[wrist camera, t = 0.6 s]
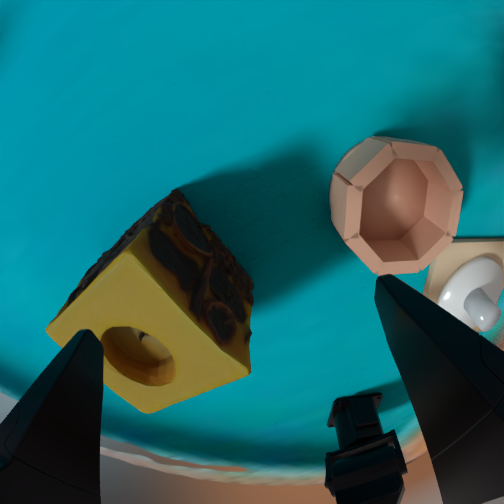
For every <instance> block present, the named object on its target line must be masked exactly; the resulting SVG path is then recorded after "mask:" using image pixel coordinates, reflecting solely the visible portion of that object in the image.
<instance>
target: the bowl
mask: <svg viewBox="0 0 504 504" xmlns="http://www.w3.org/2000/svg"><path fill="white" fill-rule="evenodd" d="M462 188H463V186H462V184H461V183H460V181H459V179H458V177H457V176H456V174H455V172H454V170H453V169H452V167H451V165H450V163H449V162H448V160H447V159H446V157H445V155H444V154H443V152H442V150H441V149H439V148H437V147H436V146H433V145H429V144H425V143H422V142H418V141H414V140H408V139H399V138H393V137H387V136H379V137H378V136H371V138H369V137H367V138H366V139H365V140H363V141H361V142H359V143H357V144H356V145H354V146H353V147H352V148H350V149H349V150H348V151H347V152H346V153H345V154H344V155H343V156H342V158H341V159H340V161H339V162H338V164H337V165H336V167H335V169H334V172H333V174H332V177H331V181H330V185H329V205H330V210H331V220H332V222H333V223H332V224H333V225H334V227H335V228H336V230H337V231H338V233H339V234H340V236H341V237H342V239H343V240H344V242H345V243H346V244H347V245H348V246H349V247H350V248H351V250H352V251H353V252H354V253H355V254H356V255H357V256H358V257H359V258H360V259H361V260H362V261H363V262H364V263H365V264H366V265H367V267H368V268H369V269H370V270H371V271H372V272H373V273H374V274H375V273H377V275H385V274H403V273H417V272H419V268H420V269H421V270H423V269H424V268H425V267H426V266H428V265H429V264H430V263H431V262H432V261H433V260H434V259H435V258H436V257H437V256H438V255H439V254H440V253H441V252H442V251H443V250H444V249H445V248H446V247H447V246H448V245H449V244H450V243H451V242H452V241H453V238H452V236H456V231H457V226H458V221H459V216H460V210H461V204H462V198H463V191H462V190H461V189H462Z"/></svg>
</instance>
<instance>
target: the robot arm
mask: <svg viewBox="0 0 504 504" xmlns="http://www.w3.org/2000/svg"><path fill="white" fill-rule="evenodd" d="M374 299H375V304H376V307H377V310H378V313H379V316H380V320H381V323H382V326H383V329H384V332H385V336H386V339H387V342H388V345H389V348H390V351H391V353H392V355H393V358H394V360H395V363H396V365H397V367H398V370H399V372H400V375H401V377H402V380H403V382H404V385H405V387H406V390H407V392H408V395H409V398H410V400H411V403H412V406H413V408H414V411H415V414H416V417H417V419H418V422H419V425H420V428H421V431H422V434H423V437H424V440H425V443H426V446H427V449H428V452H429V455H430V458H431V460H432V464H433V468H434V472H435V475H436V479H437V482H438V485H439V489H440V493H441V497H442V501H443V504H504V351H503V350H501V349H500V348H498V347H497V346H496V345H494V344H493V343H491V342H490V341H488V340H487V339H486V338H484V337H483V336H482V335H480V336H479V333H477V332H476V331H475V330H473V329H472V328H470V327H469V326H468V325H466V324H465V323H463V322H462V321H461V320H459V319H458V318H456V317H455V316H453V315H452V314H451V313H449V312H448V311H446V310H445V309H443V308H442V307H440V306H439V305H437V304H436V303H435V302H433V301H432V300H430V299H429V298H427V297H426V296H424V295H423V294H421V293H420V292H418V291H417V290H415V289H414V288H412V287H411V286H409V285H407V284H406V283H404V282H403V281H401V280H400V279H398V278H397V277H395V276H394V275H392V274H385V275H381V276H378V277H377V280H376V287H375V296H374ZM103 372H104V347H103V345H102V343H101V342H100V340H99V339H98V338H97V337H96V335H95V334H94V333H93V332H92V330H90V329H82V330H79V331H78V332H77V333H76V334H75V335H74V336H73V337H72V338H71V339H70V340H69V342H68V343H67V344H66V345H65V346H64V347H63V348H62V350H61V351H60V352H59V353H58V354H57V355H56V356H55V358H54V359H53V360H52V361H51V362H50V363H49V365H48V366H47V367H46V368H45V369H44V371H43V372H42V373H41V374H40V375H39V377H38V378H37V379H36V380H35V381H34V383H33V384H32V385H31V386H30V388H29V389H28V390H27V391H26V393H25V394H24V395H23V396H22V398H21V399H20V400H19V402H18V403H17V404H16V405H15V407H14V408H13V409H12V410H11V412H10V413H9V414H8V415H7V417H6V418H5V419H4V420H3V422H2V423H1V424H0V504H101V497H100V433H101V414H102V401H103ZM382 397H383V396H382V393H377V394H371V395H365V396H359V397H352V398H344V399H337V400H335V401H334V402H333V405H332V409H331V412H330V416H329V419H328V423H327V426H328V427H335V428H336V433H337V438H338V443H339V448H340V450H337V451H334V452H328V453H326V458H325V463H326V477H325V487H326V488H327V489H329V490H330V492H331V494H332V496H333V497H336V501H337V504H400V502H401V500H402V497H403V494H404V491H405V487H404V482H403V478H402V475H404V474H406V473H408V472H407V468H406V464H405V460H404V457H403V454H402V450H401V447H400V444H399V441H398V439H397V436H396V433H395V430H394V429H393V430H391V431H390V432H388V433H385V434H384V432H383V429H382V426H381V422H380V419H379V416H378V413H377V408H378V406H379V404H380V402H381V400H382ZM394 447H395V448H394Z"/></svg>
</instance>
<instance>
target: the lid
mask: <svg viewBox="0 0 504 504" xmlns="http://www.w3.org/2000/svg"><path fill="white" fill-rule="evenodd" d="M502 285H503V273H502V270H501V268H500V266H499V265H498V264H497V263H496V262H495V261H493V260H492V259H491V258H489V257H487V256H477V257H474V258H471V259H469V260H468V261H466V262H464V263H463V264H462V265H460V266H459V267H458V268H457V269H456V270H455V271H454V272H453V273H452V274H451V275H450V277H449V278H448V279H447V281H446V282H445V284H444V285H443V287H442V289H441V291H440V293H439V296H438V298H437V302H436V304H437V305H439V306H440V307H442V308H443V309H445V310H446V311H448V312H449V313H451V314H452V315H453V316H455V317H456V318H458V319H459V320H461V321H462V322H463V323H465V324H466V325H468V326H469V327H470V328H473V327H475V326H476V325H477V326H478V327H479V328H480V330H481V331H483V332H485V331H488V330H490V329H491V328H492V327H493V326H494V325H495V324H496V323H497V322H498V320H499V318H500V315H501V310H500V308H499V307H498V306H497V305H496V302H497V300H498V298H499V296H500V293H501V290H502Z"/></svg>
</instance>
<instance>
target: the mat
mask: <svg viewBox="0 0 504 504" xmlns="http://www.w3.org/2000/svg"><path fill="white" fill-rule="evenodd" d="M477 256H487V257H489V258H491V259H492V260H493V261H495V262H496V263H497V264H498V265H499V266H500V268H501V270H502V273H503V285H502V289H503V287H504V238H478V239H453V241H452V242H451V243H450V244H449V245H448V246H447V247H446V248H445V249H444V250H443V251H442V252H441V253H440V254H439V255H438V256H437V257H436V258H435V259H434V260H433V261H432V262H431V263H430V267H429V272H428V275H427V279H426V283H425V287H424V290H423V295H424V296H426V297H427V298H429V299H430V300H432V301H433V302H435V303H436V302H437V298H438V296H439V293H440V291H441V289H442V287H443V285H444V284H445V282H446V281H447V279H448V278H449V277H450V275H451V274H452V273H453V272H454V271H455V270H456V269H457V268H458V267H459V266H460V265H462V264H463V263H464V262H466V261H468V260H469V259H471V258H474V257H477ZM501 292H502V290H501ZM500 295H501V293H500ZM499 297H500V296H499ZM498 300H499V298H498ZM498 300H497V302H498ZM497 302H496V305H497ZM472 329H473V330H475V331H476V332H479V331H481V330H480V328H479V327H478V326H477V325H476V326H475V327H473V328H472Z"/></svg>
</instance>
